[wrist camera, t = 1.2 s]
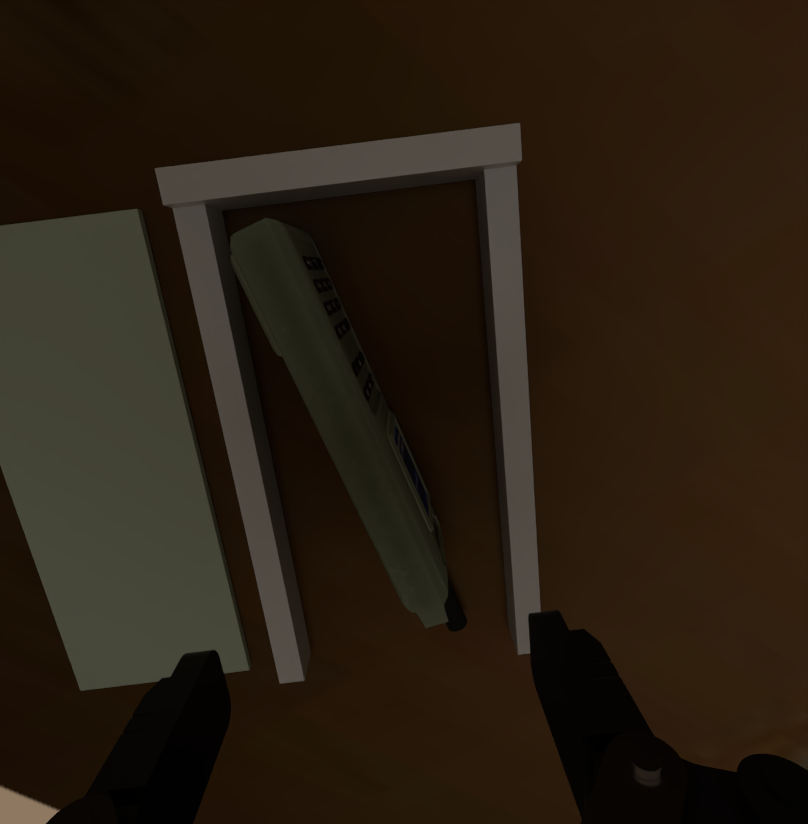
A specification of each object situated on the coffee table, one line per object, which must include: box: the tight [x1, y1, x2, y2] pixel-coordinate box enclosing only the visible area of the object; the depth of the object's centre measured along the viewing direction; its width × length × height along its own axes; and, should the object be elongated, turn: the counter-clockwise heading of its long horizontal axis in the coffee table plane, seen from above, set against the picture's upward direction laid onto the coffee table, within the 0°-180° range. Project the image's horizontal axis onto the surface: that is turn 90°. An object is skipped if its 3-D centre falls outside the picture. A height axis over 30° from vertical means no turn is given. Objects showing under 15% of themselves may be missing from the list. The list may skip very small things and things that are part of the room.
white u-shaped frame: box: [155, 123, 541, 683], centre depth 27 cm, size 16×28×4 cm, turn 7°
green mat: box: [0, 209, 251, 691], centre depth 29 cm, size 11×28×1 cm, turn 7°
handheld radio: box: [230, 218, 467, 631], centre depth 26 cm, size 7×3×25 cm
